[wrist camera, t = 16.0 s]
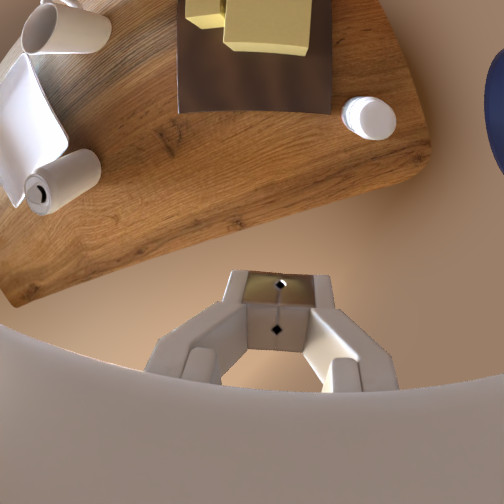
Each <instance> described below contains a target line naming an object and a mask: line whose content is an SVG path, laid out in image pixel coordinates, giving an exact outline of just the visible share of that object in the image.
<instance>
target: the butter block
mask: <svg viewBox="0 0 504 504" xmlns="http://www.w3.org/2000/svg"><path fill="white" fill-rule="evenodd" d="M311 8H312V0H227V4H226V14H225V25H224V37H223V43H225V44H226V45H227V46H228V47H230V48H231V49H232V50H233V51H247V52H267V53H279V54H290V55H299V56H305V55H306V53H307V50H308V48H309V37H310V23H311Z"/></svg>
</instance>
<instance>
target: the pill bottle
mask: <svg viewBox="0 0 504 504" xmlns="http://www.w3.org/2000/svg"><path fill="white" fill-rule="evenodd" d="M341 117H342V121H343V123H344V124H345V126H346V127H347V128H348V129H350V130H351V131H353V132H354V133H356V134H358V135H359V136H361V137H363V138H365V139H369V140H383V139H386V138H388V137H389V136H390V135H391V134H392V133H393V132H394V130H395V127H396V117H395V114H394V112H393V110H392V109H391V107H390V106H389V105H387V104H386V103H384V102H383V101H382V100H380V99H378V98H375V97H361V96H357V97H352V98H350V99H348V100H347V101H346V102H345V103H344V105H343V107H342V110H341Z"/></svg>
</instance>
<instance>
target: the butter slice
mask: <svg viewBox="0 0 504 504" xmlns="http://www.w3.org/2000/svg"><path fill="white" fill-rule="evenodd" d="M226 4H227V0H186V6H185V18H186V19H187V20H189V21H191V22H192V23H194V24H195V25H196V26H198V27H199V28H201V29H209V28H219V27H224V25H225V14H226Z"/></svg>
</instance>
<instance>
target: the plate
mask: <svg viewBox="0 0 504 504" xmlns="http://www.w3.org/2000/svg"><path fill="white" fill-rule="evenodd" d="M68 146H69V137H68V135H67V133H66V131H65V129H64V128H63V126H62V124H61V123H60V121H59V119H58V118H57V116H56V114H55V112H54V111H53V109H52V107H51V105H50V103H49V101H48V99H47V97H46V95H45V93H44V91H43V89H42V87H41V84H40V82H39V80H38V77H37V75H36V72H35V69H34V67H33V64H32V61H31V59H30V57H29V55H28V54H27V53H25V52H23V53H22V54H21V55H20V56H19V57H18V59H17V60H16V62H15V63H14V64H13V66H12V67H11V69H10V70H9V72H8V73H7V75H6V76H5V78H4V79H3V81H2V83H1V84H0V182H1V184H2V186H3V188H4V190H5V191H6V193H7V195H8V197H9V199H10V200H11V202H12V204H13V205H14V207H16V208H17V207H18V206H19V205H20V204H21V203H22V201H23V200H24V198H25V195H24V184H25V180H26V178H27V177H28V176H29V175H31V173H32V172H33V171H34V170H35V169H36V168H39V167H41V166H43V165H45V164H47V163H49V162H51V161H54V160H56V159H58V158H59V157H60V156H61V155H62V154H63V153H64V152H65V151H66V149H67V148H68Z"/></svg>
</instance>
